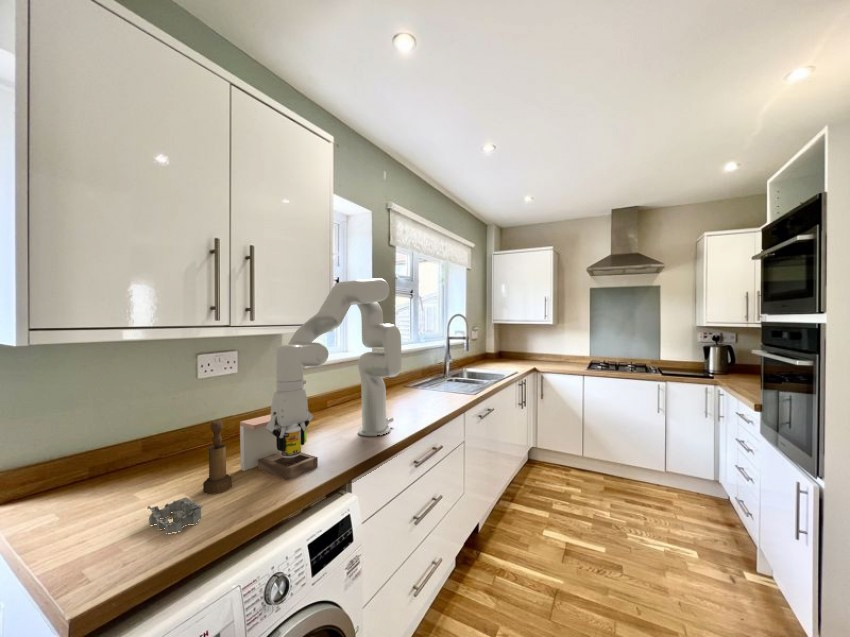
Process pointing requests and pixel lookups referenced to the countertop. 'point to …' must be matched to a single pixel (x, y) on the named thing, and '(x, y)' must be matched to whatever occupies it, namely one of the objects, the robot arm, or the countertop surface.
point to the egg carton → (176, 515)
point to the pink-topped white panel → (256, 441)
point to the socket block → (279, 464)
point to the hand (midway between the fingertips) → (291, 446)
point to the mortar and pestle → (217, 464)
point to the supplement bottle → (292, 441)
